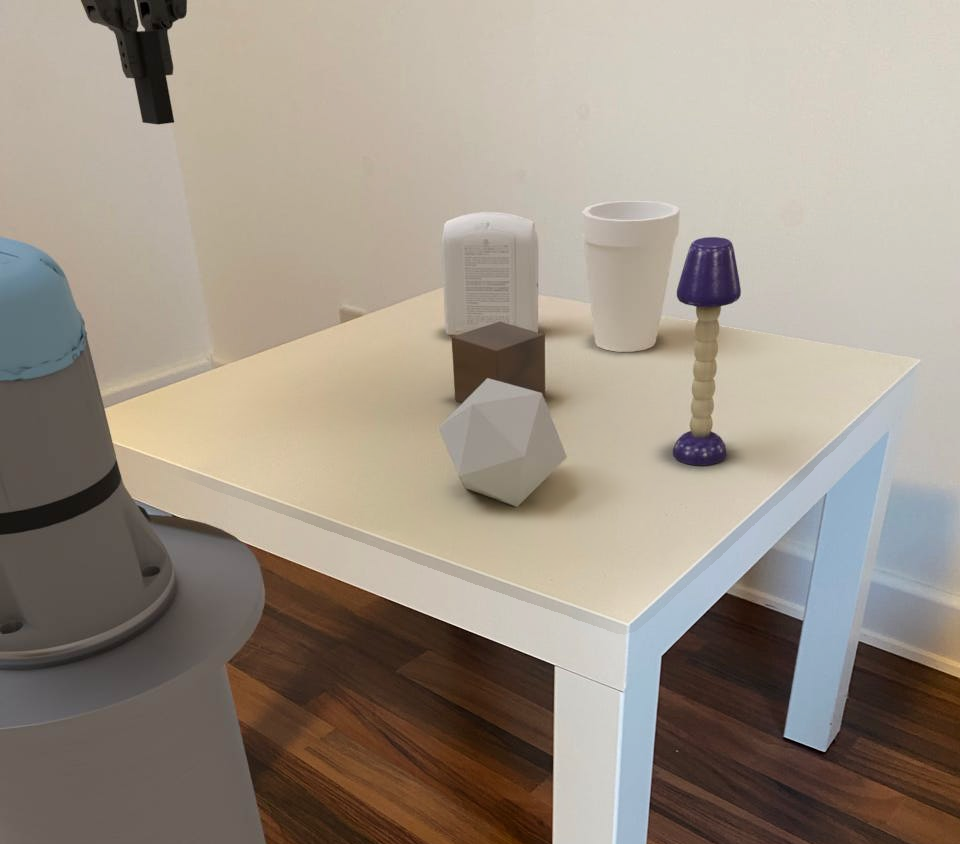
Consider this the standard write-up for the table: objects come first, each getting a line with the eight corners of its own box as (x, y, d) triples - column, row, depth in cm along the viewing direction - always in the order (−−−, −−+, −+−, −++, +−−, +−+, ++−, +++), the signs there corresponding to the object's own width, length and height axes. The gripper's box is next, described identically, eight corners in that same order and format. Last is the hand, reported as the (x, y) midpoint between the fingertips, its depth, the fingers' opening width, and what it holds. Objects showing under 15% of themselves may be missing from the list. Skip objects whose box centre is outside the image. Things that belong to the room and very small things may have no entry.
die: (587, 496, 78) (558, 371, 79) (550, 486, 70) (518, 346, 70) (487, 524, 81) (460, 404, 82) (442, 518, 73) (411, 385, 74)
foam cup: (689, 344, 105) (699, 210, 97) (618, 363, 101) (623, 226, 93) (631, 322, 111) (636, 196, 104) (562, 339, 108) (563, 209, 100)
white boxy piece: (541, 327, 111) (540, 207, 104) (536, 339, 108) (535, 217, 101) (449, 326, 113) (442, 208, 106) (442, 338, 109) (434, 217, 103)
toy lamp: (711, 472, 79) (732, 251, 70) (656, 461, 81) (669, 244, 72) (733, 450, 83) (756, 235, 73) (680, 439, 85) (696, 230, 75)
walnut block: (498, 416, 91) (496, 351, 87) (454, 400, 94) (451, 336, 91) (545, 398, 94) (545, 334, 90) (501, 383, 98) (499, 321, 94)
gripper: (17, -270, 65) (105, 134, 78) (196, -252, 72) (249, 116, 85) (-25, -251, 70) (64, 128, 83) (146, -235, 77) (204, 111, 90)
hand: (158, 122), depth 84 cm, fingers closed
